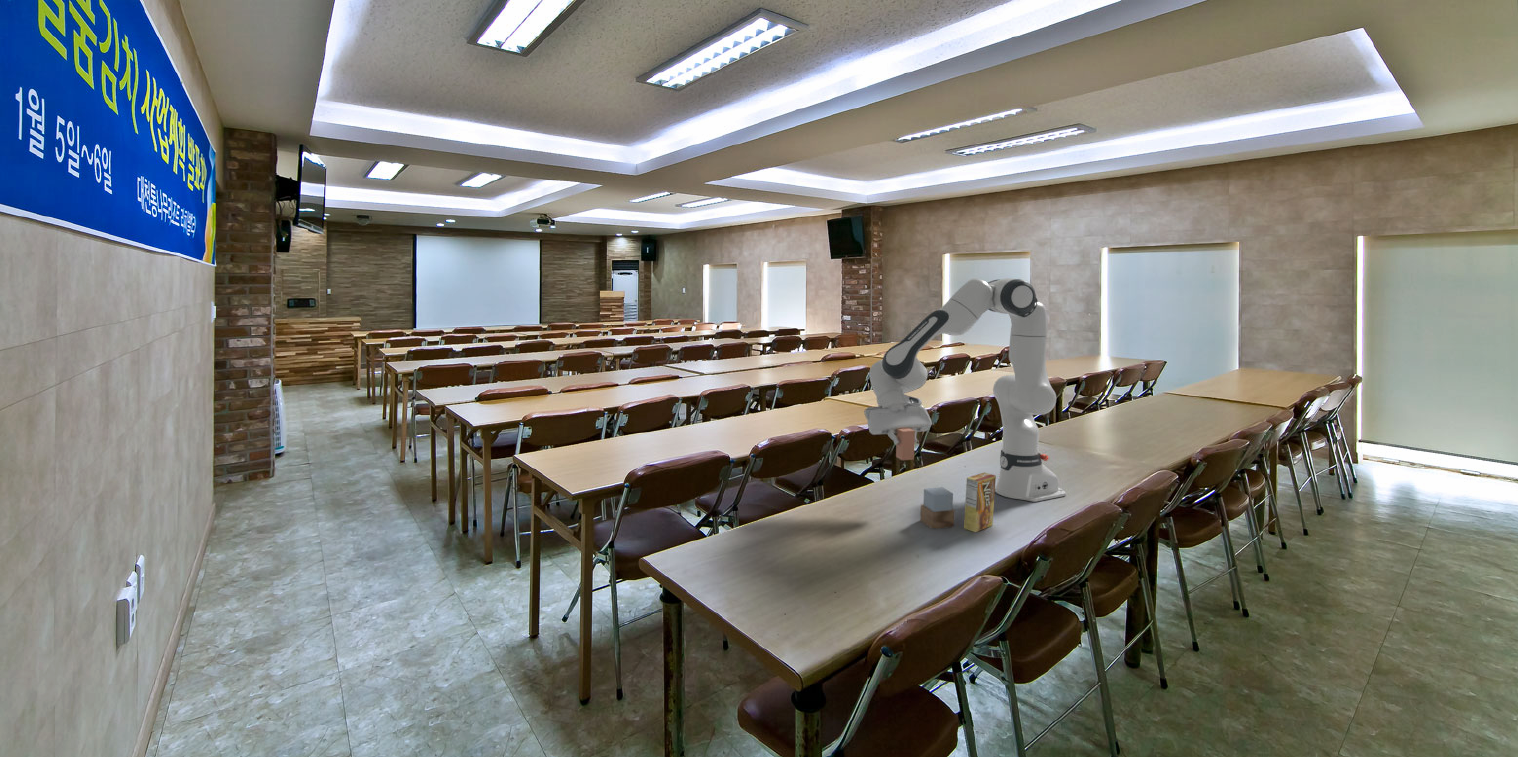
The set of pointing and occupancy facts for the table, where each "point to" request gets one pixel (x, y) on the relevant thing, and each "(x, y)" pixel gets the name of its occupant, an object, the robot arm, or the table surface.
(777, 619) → the table surface
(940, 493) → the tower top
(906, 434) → the post
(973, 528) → the candy box
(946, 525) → the tower base
